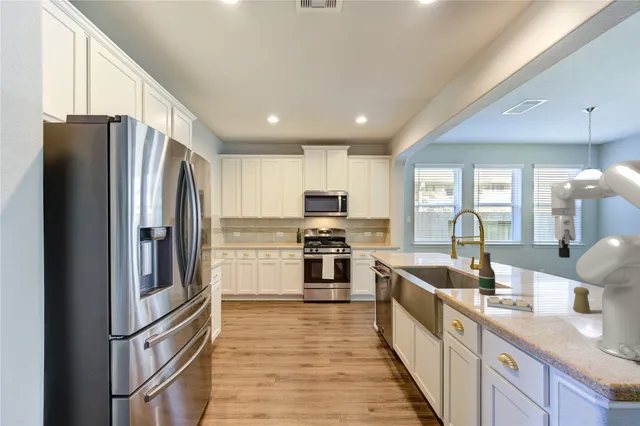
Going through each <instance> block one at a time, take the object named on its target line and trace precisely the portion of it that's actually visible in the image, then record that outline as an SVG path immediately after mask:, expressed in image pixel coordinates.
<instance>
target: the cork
mask: <svg viewBox="0 0 640 426" xmlns="http://www.w3.org/2000/svg"><path fill="white" fill-rule="evenodd" d="M573 293H574V301H573V306H572V307H573V308H572V309H573V311H574V312H575V313H578V314H584V315H591V314H592V312H591V308H590V302H589V297H588V296H589V295H590V291H589V289H588V288H586V287H582V286H581V287H580V286H575V287H574V288H573Z"/></svg>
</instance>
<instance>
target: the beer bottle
mask: <svg viewBox="0 0 640 426" xmlns="http://www.w3.org/2000/svg"><path fill="white" fill-rule="evenodd" d="M482 255H483V258H482V266H481V268H480V269H479V271H478V290H479V291H478V293H479V295H481V296H487V297H489V296H491V297H495V296H496V273H495V271H494V269H493V268H492V264H491V263H492V262H491V253H490V252H483V253H482Z"/></svg>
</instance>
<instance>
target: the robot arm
mask: <svg viewBox="0 0 640 426" xmlns="http://www.w3.org/2000/svg"><path fill="white" fill-rule="evenodd" d="M550 196H551V197H550V199H551V202H550V203H551V210H550V211H551V217H554V238H555V239H556V240H558V257H559V258H561V259H562V258H564V259H570V258H571V249H570V246H571V245H570V244H571V243H570V241H572V242H575V241H576V239H577V238H576V226H575V225H576V224H575V219H574V217H576V216H577V215H576V211H577V209H576V200H579V201H580V200H601V199H607V198H614V197H618V196H619V197H621V198H623V199H624V200H625V201H627V203H630V205H632V206H634V207H635V208H637V209H639V210H640V160H638V159H637V160H622V161H617V162H614V163H613V164H611V165H610V166H609V167H607V169H606V170H605V171H604V172H603V173H602V174H601V175H600V176H599V179H573V180H572V179H571V180H565V181H562V182H555V183H553V184H552V185H551V187H550ZM575 271H576V275H578V277H579V278H580V279H581V280H582V281H584V282H586V283H588V284H593V285H605V286H604V288H603V290H602V294H601V318H602V320H601V321H602V339H600V340H597V341H596V342H595V343H596V347H597V348H598V349H599V350H600V351H603V352H604V353H606V354H609V355H612V356H615V357H619V358H622V359H626V360H631V361H637V362H638V361H639V362H640V233H636V234H615V235H608V236H606V237H603V238H602V239H601V238H600V239H599V240H598V241H597V242H596V243H595V244H594V245H592V246H591V247H590V248H589V249H588V250H587V251H586V252H585V253H583V254H582V255H581V256H580V257H579V259H578V260H577V261H576V266H575Z"/></svg>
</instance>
